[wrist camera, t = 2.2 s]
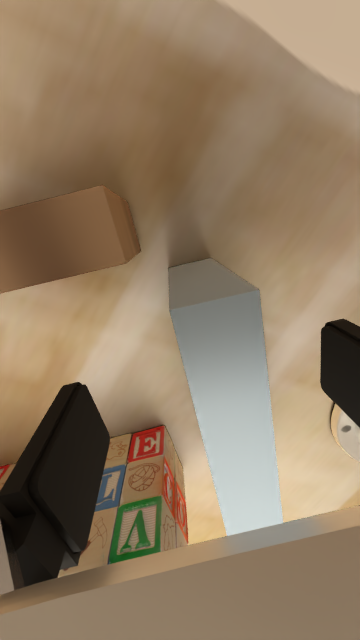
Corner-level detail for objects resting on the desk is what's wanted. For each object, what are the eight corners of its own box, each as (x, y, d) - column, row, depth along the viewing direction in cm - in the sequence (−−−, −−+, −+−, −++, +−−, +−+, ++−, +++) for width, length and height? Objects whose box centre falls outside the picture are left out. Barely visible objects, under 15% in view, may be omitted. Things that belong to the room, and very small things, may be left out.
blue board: (168, 268, 16) (169, 310, 8) (211, 257, 16) (259, 289, 8) (212, 452, 23) (239, 583, 14) (243, 445, 23) (288, 574, 14)
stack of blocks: (165, 421, 21) (162, 648, 10) (184, 467, 23) (200, 696, 12) (-50, 477, 22) (-278, 740, 11) (-12, 516, 25) (-169, 767, 13)
